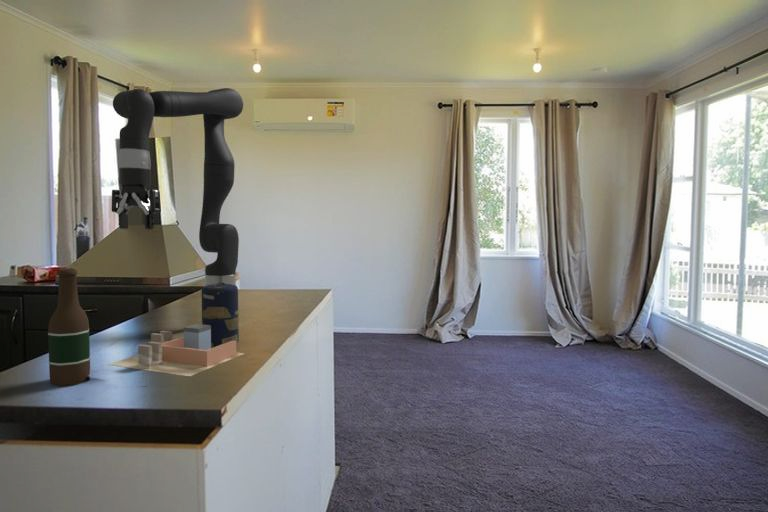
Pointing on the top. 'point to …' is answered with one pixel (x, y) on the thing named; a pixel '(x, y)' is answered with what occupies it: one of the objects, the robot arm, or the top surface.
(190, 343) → the grey block
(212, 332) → the canister
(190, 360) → the tray
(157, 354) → the board
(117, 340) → the top surface
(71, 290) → the beer bottle
